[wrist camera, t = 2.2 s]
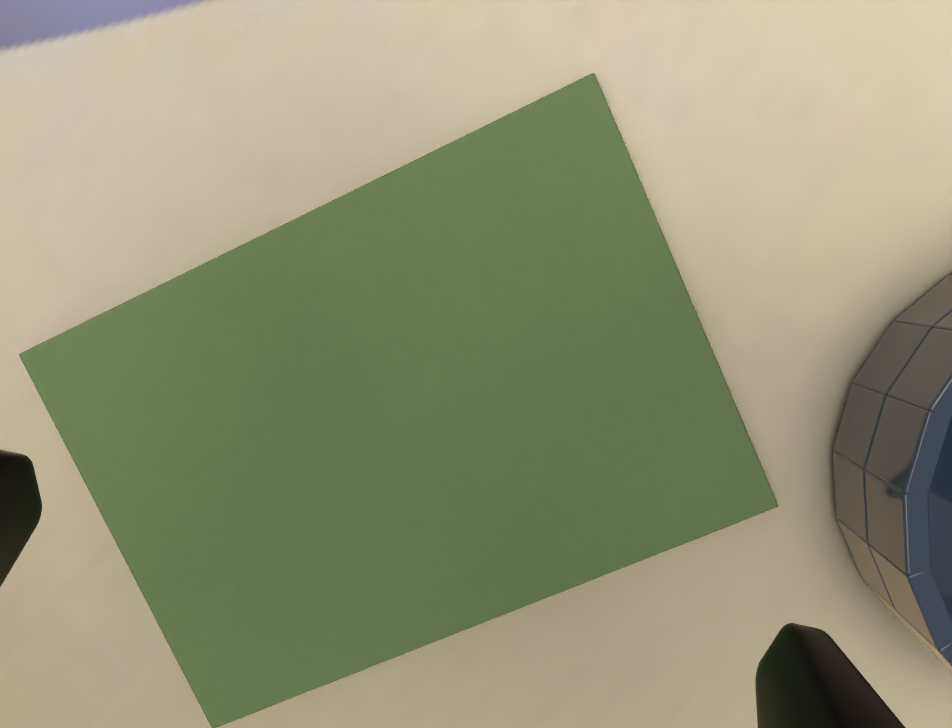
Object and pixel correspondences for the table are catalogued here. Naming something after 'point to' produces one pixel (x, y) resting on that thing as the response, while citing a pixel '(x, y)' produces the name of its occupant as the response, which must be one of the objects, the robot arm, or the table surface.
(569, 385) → the green cloth
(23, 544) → the robot arm
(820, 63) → the table surface
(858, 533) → the bowl
